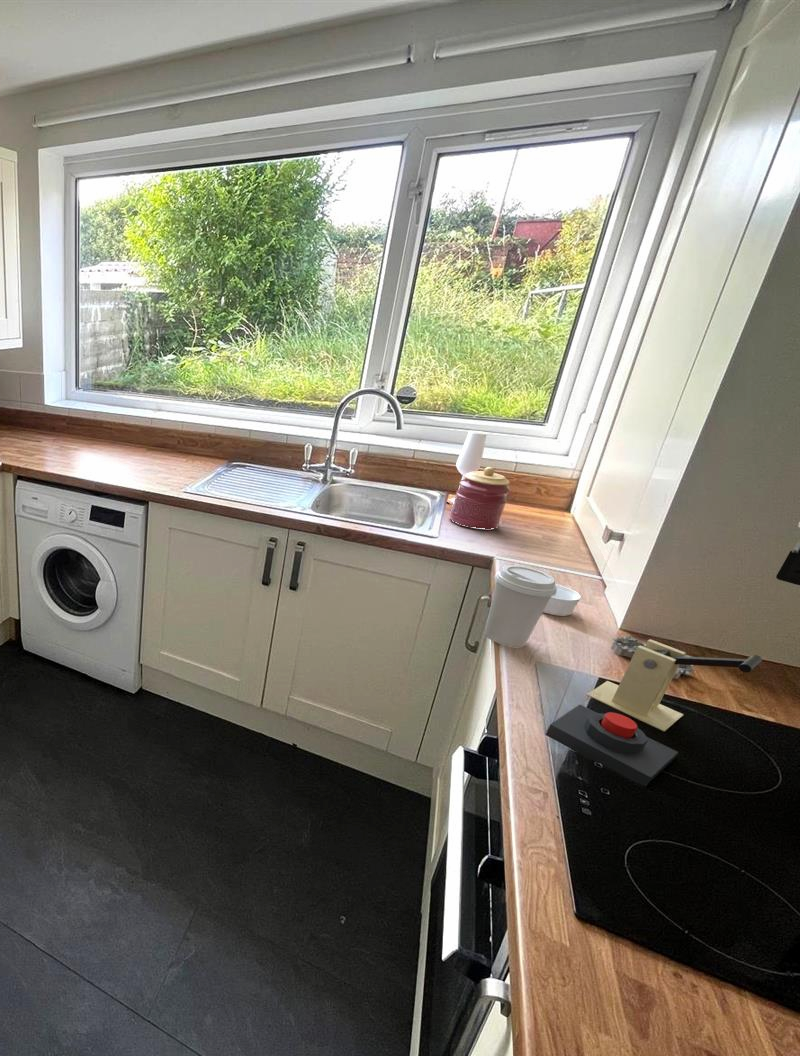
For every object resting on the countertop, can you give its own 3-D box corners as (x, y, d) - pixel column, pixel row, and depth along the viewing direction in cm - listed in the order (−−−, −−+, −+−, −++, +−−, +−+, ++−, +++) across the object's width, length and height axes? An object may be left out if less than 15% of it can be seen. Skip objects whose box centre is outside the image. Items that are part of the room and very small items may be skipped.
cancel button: (636, 733, 84) (641, 723, 84) (626, 741, 83) (631, 732, 82) (606, 718, 87) (611, 709, 87) (596, 726, 86) (600, 716, 85)
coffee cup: (463, 628, 118) (486, 562, 112) (511, 631, 118) (536, 564, 112) (493, 655, 109) (519, 584, 103) (544, 658, 109) (574, 587, 103)
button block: (672, 763, 84) (684, 742, 83) (644, 789, 79) (656, 767, 78) (574, 715, 94) (584, 694, 92) (545, 735, 89) (554, 714, 87)
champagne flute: (464, 501, 196) (486, 431, 186) (470, 508, 190) (493, 435, 180) (442, 499, 197) (462, 429, 188) (448, 505, 191) (469, 433, 182)
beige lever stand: (680, 720, 93) (714, 659, 89) (661, 737, 89) (695, 673, 85) (604, 686, 101) (631, 628, 96) (584, 700, 97) (611, 640, 93)
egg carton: (694, 680, 104) (705, 661, 102) (666, 686, 102) (676, 667, 100) (628, 647, 113) (636, 629, 112) (600, 652, 111) (609, 634, 109)
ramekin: (528, 611, 125) (535, 594, 124) (520, 594, 133) (526, 577, 131) (579, 621, 122) (586, 603, 120) (567, 603, 129) (574, 586, 128)
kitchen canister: (442, 521, 176) (458, 465, 170) (455, 512, 185) (472, 458, 178) (491, 534, 168) (510, 476, 161) (503, 524, 176) (522, 468, 169)
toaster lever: (764, 667, 83) (760, 650, 83) (753, 677, 81) (749, 660, 81) (652, 662, 94) (649, 647, 94) (640, 670, 91) (637, 655, 91)
